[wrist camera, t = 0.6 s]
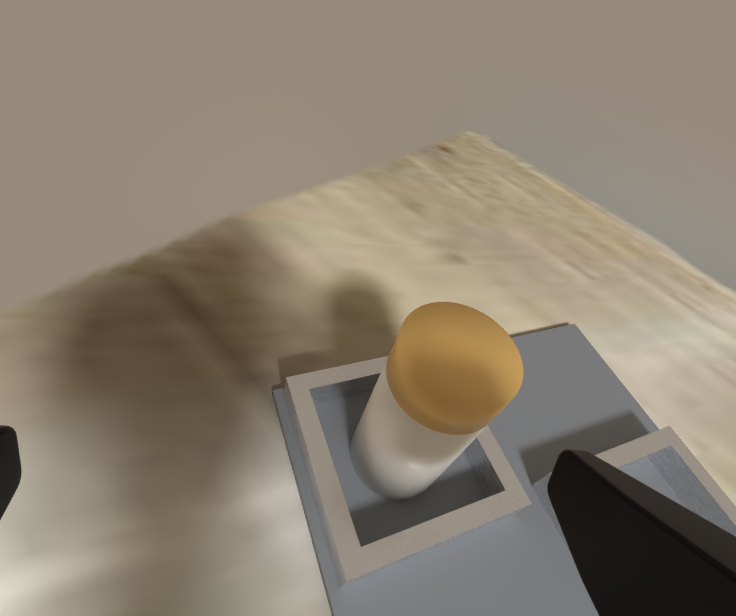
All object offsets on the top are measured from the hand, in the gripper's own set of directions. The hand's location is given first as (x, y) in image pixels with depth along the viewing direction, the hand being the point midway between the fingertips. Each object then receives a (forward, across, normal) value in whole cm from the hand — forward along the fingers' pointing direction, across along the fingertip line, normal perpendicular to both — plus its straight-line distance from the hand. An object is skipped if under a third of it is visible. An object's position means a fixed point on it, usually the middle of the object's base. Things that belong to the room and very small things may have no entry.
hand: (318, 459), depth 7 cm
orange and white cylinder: (+13, -6, +11) cm, 18 cm away
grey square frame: (+13, -6, +11) cm, 18 cm away
